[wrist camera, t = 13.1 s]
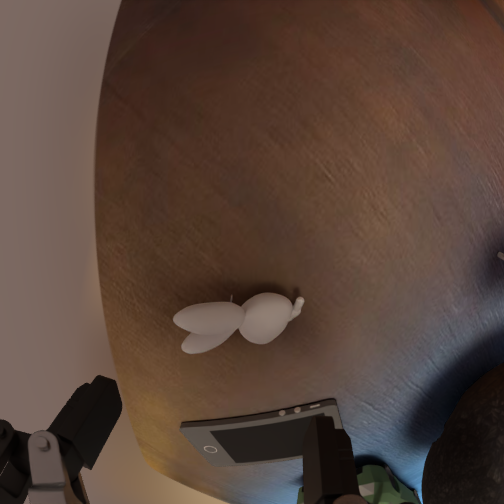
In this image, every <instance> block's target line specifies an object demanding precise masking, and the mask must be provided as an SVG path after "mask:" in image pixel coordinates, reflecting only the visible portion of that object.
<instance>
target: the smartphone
mask: <svg viewBox="0 0 504 504" xmlns="http://www.w3.org/2000/svg"><path fill="white" fill-rule="evenodd" d="M313 416H332V417H333V419H334V425H335V429H343V426H342V422H341V419H340V415H339V411H338V407H337V403H336V400H326V401H322V402H318V403H314V404H310V405H306V406H301V407H296V408H292V409H287V410H281V411H277V412H271V413H265V414H259V415H253V416H246V417H239V418H231V419H223V420H213V421H202V422H188V423H182V424H181V426H180V429H179V430H180V431H181V432H182V434H183V435H184V436H185V437H186V438H187V439H188V440H189V442H190V443H191V444H192V445H193V446H194V447H195V448H196V449H197V450H198V452H199V453H200V454H201V455H202V456H203V457H204V458H205V459H206V460H207V461H208V462H209V463H210V464H211V465H212V466H216V467H222V466H241V465H253V464H263V463H272V462H279V461H286V460H293V459H299V458H303V453H302V445H303V439H304V435H305V433H306V431H307V428H308V426H309V424H310V421H311V419H312V417H313Z"/></svg>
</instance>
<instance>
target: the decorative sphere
mask: <svg viewBox="0 0 504 504" xmlns="http://www.w3.org/2000/svg"><path fill="white" fill-rule="evenodd" d="M422 500H423V504H504V362H503V363H501V364H499V365H498V366H496V367H495V368H493V369H492V370H490V371H489V372H487V373H486V374H484V375H483V376H482V377H481V378H479V379H478V380H477V381H476V382H475V383H474V384H473V385H472V386H471V387H470V388H469V389H467V390H466V391H465V393H464V394H463V395H462V396H461V399H460V400H459V402H458V403H457V405H456V407H455V409H454V411H453V412H452V414H451V415H450V417H449V419H448V421H447V422H446V424H445V425H444V431H443V433H442V435H441V436H440V438H438V439H437V441H435V442H433V443H432V445H431V447H430V450H429V452H428V455H427V458H426V461H425V465H424V470H423V478H422Z"/></svg>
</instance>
